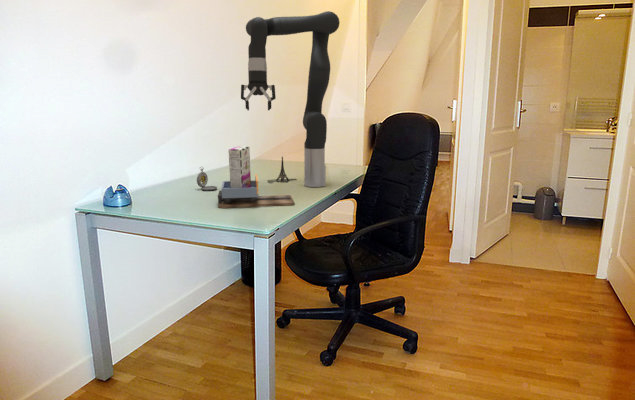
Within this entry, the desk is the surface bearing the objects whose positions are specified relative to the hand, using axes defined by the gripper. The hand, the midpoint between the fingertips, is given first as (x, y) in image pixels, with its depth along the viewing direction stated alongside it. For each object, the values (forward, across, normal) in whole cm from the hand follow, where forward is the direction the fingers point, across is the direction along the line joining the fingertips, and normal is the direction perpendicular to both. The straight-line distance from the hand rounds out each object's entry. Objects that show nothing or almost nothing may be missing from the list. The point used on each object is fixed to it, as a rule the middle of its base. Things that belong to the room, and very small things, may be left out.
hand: (258, 110), depth 188 cm
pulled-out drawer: (+33, +8, +23) cm, 41 cm away
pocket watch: (+34, +23, -6) cm, 42 cm away
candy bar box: (+30, +8, +23) cm, 38 cm away
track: (+34, +2, +23) cm, 41 cm away
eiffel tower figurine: (+35, -12, -22) cm, 43 cm away
